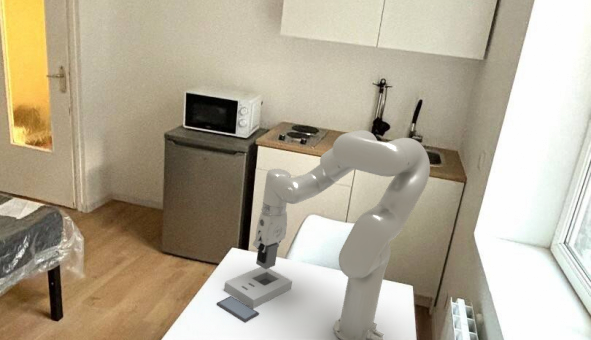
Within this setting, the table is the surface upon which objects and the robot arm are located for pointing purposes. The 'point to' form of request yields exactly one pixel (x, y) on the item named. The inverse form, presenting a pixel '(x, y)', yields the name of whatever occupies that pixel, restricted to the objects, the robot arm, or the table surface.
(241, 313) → the phone
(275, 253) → the block
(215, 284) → the table surface
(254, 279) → the outlet plate
